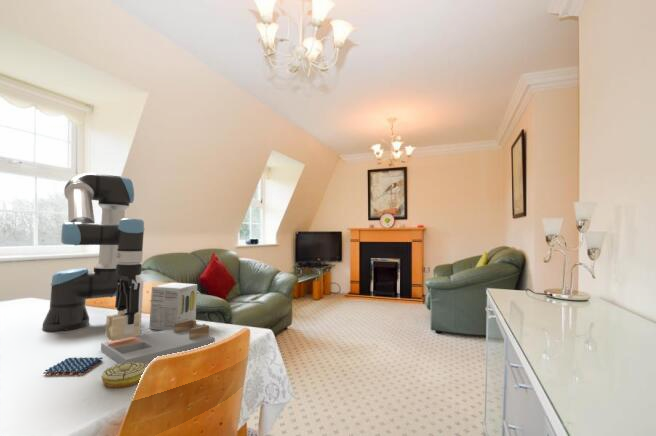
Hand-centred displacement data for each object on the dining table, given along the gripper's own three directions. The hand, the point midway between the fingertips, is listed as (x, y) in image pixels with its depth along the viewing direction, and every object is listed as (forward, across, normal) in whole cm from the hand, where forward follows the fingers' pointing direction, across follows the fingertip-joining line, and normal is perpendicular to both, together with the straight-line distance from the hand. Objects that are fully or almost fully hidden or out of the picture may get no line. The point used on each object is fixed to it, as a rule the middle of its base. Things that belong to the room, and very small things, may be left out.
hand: (125, 331), depth 111 cm
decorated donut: (+7, +25, -8) cm, 27 cm away
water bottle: (+6, -12, +8) cm, 15 cm away
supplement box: (+6, -16, +24) cm, 30 cm away
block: (+1, 0, -1) cm, 2 cm away
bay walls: (+4, +7, +20) cm, 22 cm away
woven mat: (+7, +6, -15) cm, 18 cm away
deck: (+6, +6, +9) cm, 13 cm away
